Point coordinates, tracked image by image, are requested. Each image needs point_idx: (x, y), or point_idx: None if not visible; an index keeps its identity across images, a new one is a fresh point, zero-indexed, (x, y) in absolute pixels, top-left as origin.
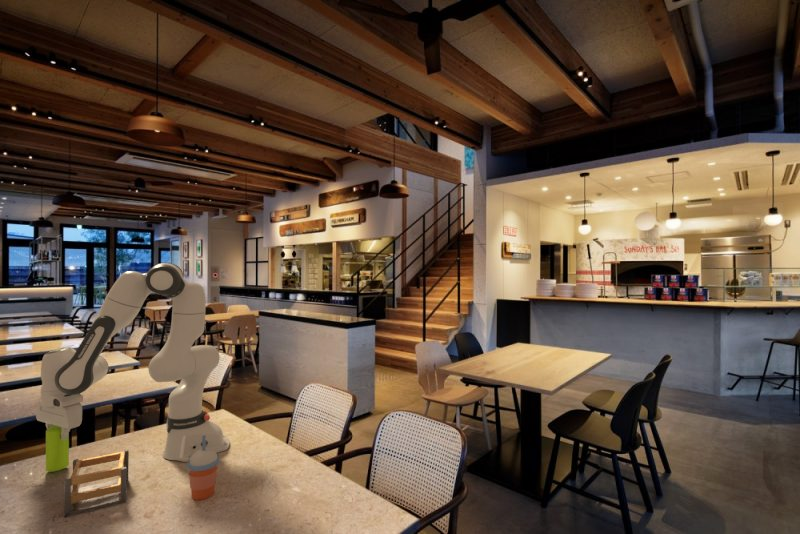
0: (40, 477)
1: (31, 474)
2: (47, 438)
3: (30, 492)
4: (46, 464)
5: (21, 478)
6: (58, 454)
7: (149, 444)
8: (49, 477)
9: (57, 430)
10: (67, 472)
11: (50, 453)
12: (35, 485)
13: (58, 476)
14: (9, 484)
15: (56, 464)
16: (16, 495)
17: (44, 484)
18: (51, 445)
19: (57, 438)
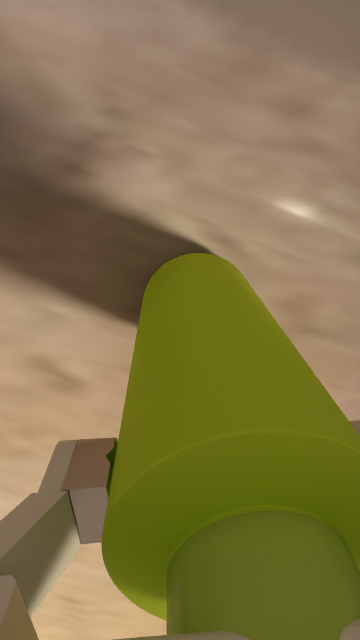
0: (187, 212)
1: (281, 202)
2: (222, 366)
3: (11, 83)
4: (206, 263)
5: (282, 144)
6: (137, 335)
7: (101, 581)
8: (138, 239)
9: (139, 529)
10: (117, 314)
11: (170, 302)
12: (95, 147)
13: (107, 269)
14: (264, 59)
15: (146, 296)
16: (39, 6)
17: (62, 183)
18: (162, 341)
19: (125, 425)
